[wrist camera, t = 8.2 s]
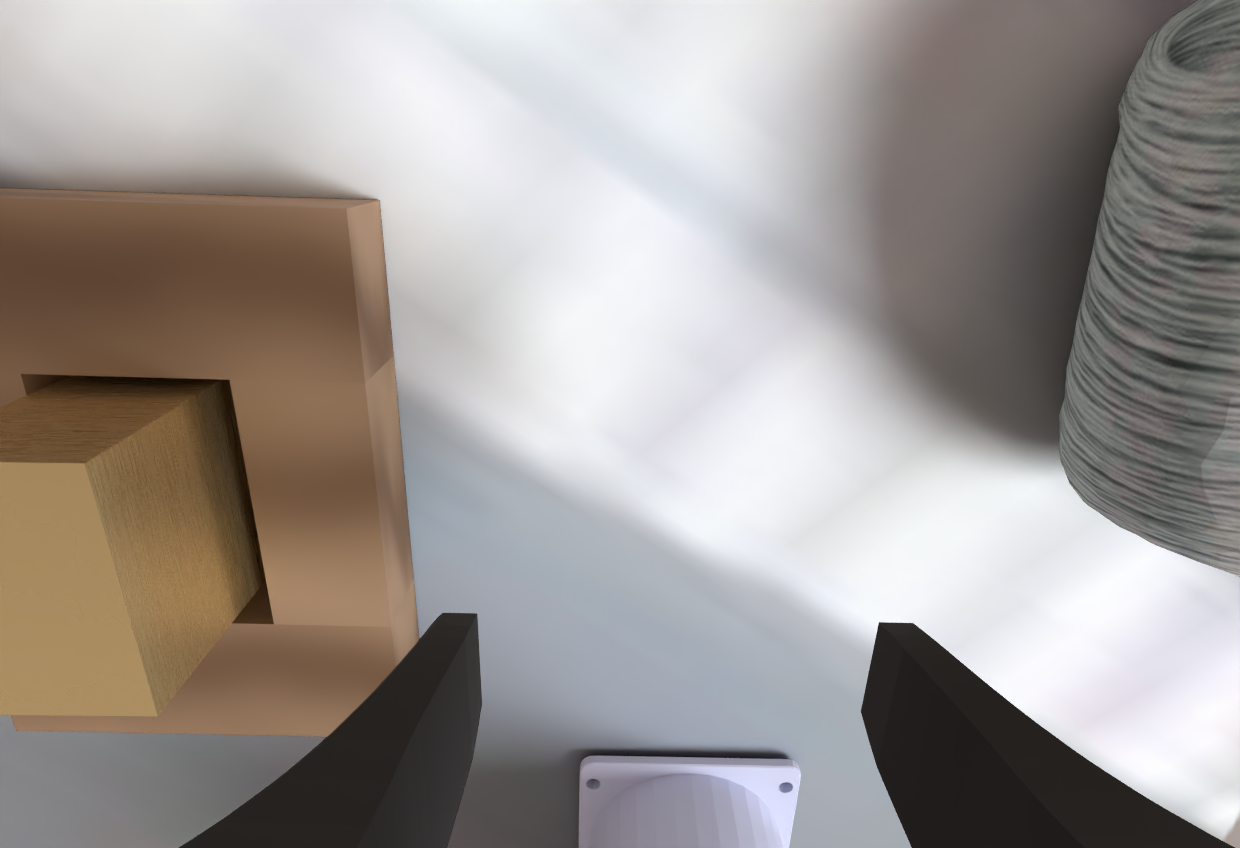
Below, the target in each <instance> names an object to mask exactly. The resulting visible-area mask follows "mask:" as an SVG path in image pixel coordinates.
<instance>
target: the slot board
mask: <svg viewBox="0 0 1240 848" xmlns="http://www.w3.org/2000/svg"><path fill="white" fill-rule="evenodd" d="M72 375H78V376H114V377H150V378H187V379H223V380H230V385H231V391H232V396H233V402H234V407H235V413H236V418H237V424H238V429H239V435H240V440H241V446H242V451H243V457H244V462H245V468H246V473H247V479H248V484H249V490H250V495H251V501H252V506H253V512H254V517H255V523H256V528H257V534H258V539H259V545H260V550H261V556H262V561H263V567H264V572H265V578H266V580H265V582H264V583H263V584H262V585H261V587H260V588H259V589H258V591H257V592H256V593H255V594H254V596H253V597H252V598H251V599H250V601H249V602H248V603H247V604H246V606H245V607H244V608H243V609H242V611H241V612H240V613H239V615H238V616H237V617H236V618H235V620H234V621H233V622H232V623H231V625H230V626H229V627H228V628H227V630H226V631H225V632H224V633H223V635H222V636H221V637H220V639H219V640H218V641H217V642H216V644H215V645H214V646H213V647H212V649H211V650H210V651H209V652H208V654H207V655H206V656H205V658H204V659H203V660H202V661H201V663H200V664H199V665H198V666H197V668H196V669H195V670H194V671H193V673H192V674H191V675H190V676H189V678H188V679H187V680H186V682H185V683H184V684H183V685H182V687H181V688H180V689H179V690H178V692H177V693H176V694H175V695H174V697H173V698H172V699H171V700H170V702H169V703H168V704H167V706H166V707H165V708H164V709H163V711H162V712H161V713H160V714H159V716H63V715H11V718H12V721H13V723H14V726H15V729H16V731H67V732H120V733H174V734H227V735H280V736H329V735H330V734H331V733H332V732H333V731H334V730H335V729H336V728H337V727H338V726H339V725H340V724H341V723H342V722H343V721H344V720H345V719H346V718H347V717H348V716H349V715H350V714H351V713H352V712H353V711H354V710H355V709H356V708H357V707H358V706H359V705H360V704H361V703H362V702H364V701H365V700H366V699H367V697H368V696H369V695H370V694H371V693H372V692H373V691H374V690H375V689H376V688H377V687H378V686H379V685H380V684H381V682H382V681H383V680H384V679H385V678H386V677H387V676H388V675H389V674H390V673H391V672H392V670H393V669H394V668H395V667H396V666H397V665H398V664H399V663H400V662H401V660H402V659H403V658H404V657H405V656H406V655H407V654H408V652H409V651H410V650H411V649H412V648H413V647H414V645H415V644H416V643H417V642H418V641H419V631H418V620H417V609H416V598H415V587H414V576H413V565H412V554H411V543H410V532H409V520H408V509H407V498H406V487H405V476H404V465H403V454H402V443H401V432H400V421H399V410H398V399H397V387H396V376H395V365H394V354H393V343H392V332H391V321H390V310H389V299H388V288H387V277H386V266H385V254H384V243H383V232H382V221H381V210H380V200H360V199H329V198H298V197H267V196H236V195H205V194H174V193H143V192H112V191H81V190H50V189H19V188H0V407H1V406H4V405H6V404H8V403H11V402H13V401H15V400H17V399H20V398H22V397H24V396H27V395H29V394H31V393H33V392H36V391H38V390H40V389H43V388H45V387H47V386H49V385H52V384H54V383H56V382H59V381H61V380H63V379H65V378H68V377H70V376H72Z"/></svg>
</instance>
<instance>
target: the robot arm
mask: <svg viewBox="0 0 1240 848" xmlns="http://www.w3.org/2000/svg"><path fill="white" fill-rule="evenodd" d="M481 706H482V697H481V677H480V658H479V639H478V620H477V614H471V613H442V614H441V615H440V616H439V617H438V618H437V619H436V620H435V621H434V622H433V624H432V625H431V626H430V627H429V628H428V630H427V631H426V632H425V633H424V635H423V636H422V637H421V638H420V639H419V641H418V642H417V643H416V644H415V645H414V647H413V648H412V649H411V650H410V651H409V652H408V654H407V655H406V656H405V657H404V658H403V659H402V660H401V662H400V663H399V664H398V665H397V666H396V667H395V668H394V669H393V670H392V672H391V673H390V674H389V675H388V676H387V677H386V678H385V679H384V680H383V681H382V682H381V684H380V685H379V686H378V687H377V688H376V689H375V690H374V691H373V692H372V693H371V694H370V695H369V696H368V697H367V699H366V700H365V701H364V702H362V703H361V704H360V705H359V706H358V707H357V708H356V709H355V710H354V711H353V712H352V713H351V714H350V715H349V716H348V717H347V718H346V719H345V720H344V721H343V722H342V723H341V724H340V725H339V726H338V727H337V728H336V729H335V730H334V731H333V732H332V733H331V734H330V735H329V736H327V737H326V738H325V739H324V740H323V741H322V742H321V743H320V744H319V745H318V746H316V747H315V748H314V749H313V750H312V751H311V752H310V753H308V754H307V755H306V756H305V757H304V758H302V759H301V760H300V761H299V762H298V763H297V764H295V765H294V766H293V767H292V768H291V769H289V770H288V771H287V772H286V773H284V774H283V775H282V776H281V777H279V778H278V779H277V780H276V781H274V782H273V783H272V784H270V785H269V786H268V787H266V788H265V789H264V790H262V791H261V792H260V793H258V794H257V795H255V796H254V797H253V798H251V799H250V800H249V801H247V802H246V803H244V804H243V805H242V806H240V807H239V808H238V809H236V810H235V811H234V812H232V813H231V814H229V815H228V816H227V817H225V818H224V819H222V820H221V821H219V822H218V823H216V824H215V825H213V826H212V827H210V828H209V829H207V830H206V831H204V832H203V833H201V834H200V835H198V836H197V837H195V838H194V839H192V840H190V841H189V842H187V843H186V844H184V845H182V846H181V847H179V848H447V845H448V842H449V839H450V835H451V832H452V828H453V825H454V822H455V818H456V815H457V811H458V808H459V805H460V801H461V798H462V794H463V791H464V787H465V784H466V780H467V777H468V773H469V770H470V766H471V763H472V759H473V753H474V748H475V742H476V736H477V731H478V725H479V718H480V712H481ZM861 713H862V717H863V720H864V724H865V728H866V731H867V735H868V739H869V742H870V745H871V749H872V752H873V755H874V758H875V762H876V765H877V768H878V770H879V773H880V775H881V777H882V780H883V782H884V785H885V787H886V789H887V792H888V794H889V796H890V799H891V801H892V803H893V806H894V808H895V810H896V813H897V815H898V817H899V819H900V822H901V824H902V826H903V828H904V831H905V833H906V835H907V838H908V840H909V842H910V844H911V847H912V848H1235V847H1233V846H1231V845H1229V844H1227V843H1225V842H1223V841H1221V840H1219V839H1218V838H1216V837H1214V836H1212V835H1210V834H1209V833H1207V832H1205V831H1203V830H1201V829H1200V828H1198V827H1196V826H1194V825H1193V824H1191V823H1189V822H1187V821H1186V820H1184V819H1182V818H1180V817H1179V816H1177V815H1175V814H1173V813H1171V812H1170V811H1168V810H1166V809H1164V808H1163V807H1161V806H1159V805H1158V804H1156V803H1154V802H1153V801H1151V800H1149V799H1148V798H1146V797H1144V796H1143V795H1141V794H1140V793H1138V792H1136V791H1135V790H1133V789H1132V788H1130V787H1129V786H1127V785H1125V784H1124V783H1122V782H1121V781H1119V780H1118V779H1116V778H1115V777H1113V776H1112V775H1110V774H1108V773H1107V772H1105V771H1104V770H1102V769H1101V768H1099V767H1098V766H1096V765H1095V764H1093V763H1092V762H1090V761H1089V760H1087V759H1086V758H1084V757H1083V756H1081V755H1080V754H1078V753H1077V752H1076V751H1074V750H1073V749H1071V748H1070V747H1069V746H1067V745H1066V744H1064V743H1063V742H1062V741H1060V740H1059V739H1058V738H1056V737H1055V736H1054V735H1052V734H1051V733H1049V732H1048V731H1047V730H1045V729H1044V728H1043V727H1041V726H1040V725H1039V724H1037V723H1036V722H1035V721H1033V720H1032V719H1031V718H1029V717H1028V716H1027V715H1025V714H1024V713H1023V712H1022V711H1020V710H1019V709H1018V708H1016V707H1015V706H1014V705H1013V704H1011V703H1010V702H1009V701H1008V700H1006V699H1005V698H1004V697H1003V696H1001V695H1000V694H999V693H998V692H996V691H995V690H994V689H993V688H991V687H990V686H989V685H988V684H986V683H985V682H984V681H983V680H982V679H980V678H979V677H978V676H977V675H976V674H974V673H973V672H972V671H971V670H970V669H968V668H967V667H966V666H965V665H964V664H962V663H961V662H960V661H959V660H958V659H956V658H955V657H954V656H953V655H952V654H950V653H949V652H948V651H947V650H946V649H944V648H943V647H942V646H941V645H940V644H938V643H937V642H936V641H935V640H934V639H932V638H931V637H930V636H929V635H927V634H926V633H925V632H924V631H922V630H921V629H920V628H918V627H917V626H916V625H915V624H913V623H880V622H879V625H878V630H877V635H876V640H875V645H874V650H873V655H872V660H871V665H870V670H869V674H868V679H867V684H866V689H865V694H864V699H863V704H862V709H861ZM590 779H597V780H594V781H593V780H590ZM800 779H801V773H800V769H799V766H798V764H797V763H796V762H795V761H793V760H789V759H755V758H700V757H646V756H588V757H586V758H584V759H583V760H582V761H581V764H580V785H579V848H789V843H790V837H791V832H792V826H793V820H794V814H795V808H796V802H797V796H798V790H799V784H800ZM785 782H787V783H785ZM782 783H785V784H782Z"/></svg>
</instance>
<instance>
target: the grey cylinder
mask: <svg viewBox="0 0 1240 848" xmlns="http://www.w3.org/2000/svg"><path fill="white" fill-rule="evenodd" d="M1118 111H1119V123H1120V130H1119V135H1118V139H1117V143H1116V146H1115V149H1114V151H1113V154H1112V157H1111V161H1110V165H1109V169H1108V173H1107V178H1106V185H1105V192H1104V198H1103V202H1102V206H1101V209H1100V213H1099V217H1098V222H1097V228H1096V234H1095V239H1094V243H1093V249H1092V254H1091V258H1090V263H1089V267H1088V272H1087V276H1086V281H1085V286H1084V290H1083V295H1082V300H1081V304H1080V308H1079V312H1078V316H1077V321H1076V327H1075V334H1074V339H1073V344H1072V349H1071V353H1070V357H1069V361H1068V365H1067V370H1066V381H1065V398H1064V401H1063V404H1062V407H1061V410H1060V413H1059V426H1060V441H1059V453H1060V458H1061V463H1062V465H1063V468H1064V470H1065V473H1066V475H1067V478H1068V480H1069V483H1070V484H1071V486H1072V487H1073V488H1074V490H1075V491H1076V492H1077V493H1078V495H1079V496H1080V497H1081V499H1082V500H1083V501H1084V502H1085V503H1086V504H1087V505H1088V506H1090V507H1092V508H1093V509H1095V510H1096V511H1098V512H1099V513H1100V514H1102V515H1103V516H1105V517H1106V518H1107V519H1109V520H1110V521H1112V522H1113V523H1115V524H1116V525H1118V526H1119V527H1121V528H1123V529H1126V530H1128V531H1130V532H1132V533H1135V534H1137V535H1138V536H1140V537H1142V538H1144V539H1145V540H1147V541H1149V542H1151V543H1153V544H1155V545H1157V546H1160V547H1162V548H1165V549H1167V550H1170V551H1172V552H1175V553H1177V554H1180V555H1183V556H1185V557H1188V558H1190V559H1193V560H1196V561H1198V562H1201V563H1204V564H1207V565H1209V566H1212V567H1215V568H1218V569H1221V570H1223V571H1226V572H1229V573H1232V574H1234V575H1237V576H1239V577H1240V0H1198V1H1197V2H1195V3H1193V4H1192V5H1190V6H1189V7H1187V8H1185V9H1184V10H1182V11H1180V12H1179V13H1177V14H1176V15H1174V16H1172V17H1171V18H1170V19H1169V20H1167V21H1166V22H1165V23H1164V24H1163V25H1162V26H1161V27H1160V28H1159V29H1158V30H1157V31H1156V32H1155V33H1154V34H1153V35H1152V36H1151V37H1150V38H1149V39H1148V41H1147V44H1146V46H1145V48H1144V51H1143V53H1142V55H1141V57H1140V59H1139V60H1138V62H1137V63H1136V66H1135V68H1134V70H1133V72H1132V74H1131V76H1130V78H1129V81H1128V83H1127V85H1126V88H1125V90H1124V93H1123V96H1122V98H1121V101H1120V104H1119V107H1118Z"/></svg>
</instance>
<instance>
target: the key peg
mask: <svg viewBox="0 0 1240 848" xmlns="http://www.w3.org/2000/svg"><path fill="white" fill-rule="evenodd" d="M265 580H266V578H265V572H264V567H263V561H262V556H261V550H260V545H259V539H258V534H257V528H256V523H255V517H254V512H253V506H252V501H251V495H250V490H249V484H248V479H247V473H246V468H245V462H244V457H243V451H242V446H241V440H240V435H239V429H238V424H237V418H236V413H235V407H234V402H233V396H232V391H231V385H230V380H223V379H187V378H150V377H114V376H78V375H72V376H70V377H68V378H65V379H63V380H61V381H59V382H56V383H54V384H52V385H49V386H47V387H45V388H43V389H40V390H38V391H36V392H33V393H31V394H29V395H27V396H24V397H22V398H20V399H17V400H15V401H13V402H11V403H8V404H6V405H4V406H1V407H0V715H63V716H159V714H160V713H161V712H162V711H163V709H164V708H165V707H166V706H167V704H168V703H169V702H170V700H171V699H172V698H173V697H174V695H175V694H176V693H177V692H178V690H179V689H180V688H181V687H182V685H183V684H184V683H185V682H186V680H187V679H188V678H189V676H190V675H191V674H192V673H193V671H194V670H195V669H196V668H197V666H198V665H199V664H200V663H201V661H202V660H203V659H204V658H205V656H206V655H207V654H208V652H209V651H210V650H211V649H212V647H213V646H214V645H215V644H216V642H217V641H218V640H219V639H220V637H221V636H222V635H223V633H224V632H225V631H226V630H227V628H228V627H229V626H230V625H231V623H232V622H233V621H234V620H235V618H236V617H237V616H238V615H239V613H240V612H241V611H242V609H243V608H244V607H245V606H246V604H247V603H248V602H249V601H250V599H251V598H252V597H253V596H254V594H255V593H256V592H257V591H258V589H259V588H260V587H261V585H262V584H263V583H264V582H265Z"/></svg>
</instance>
